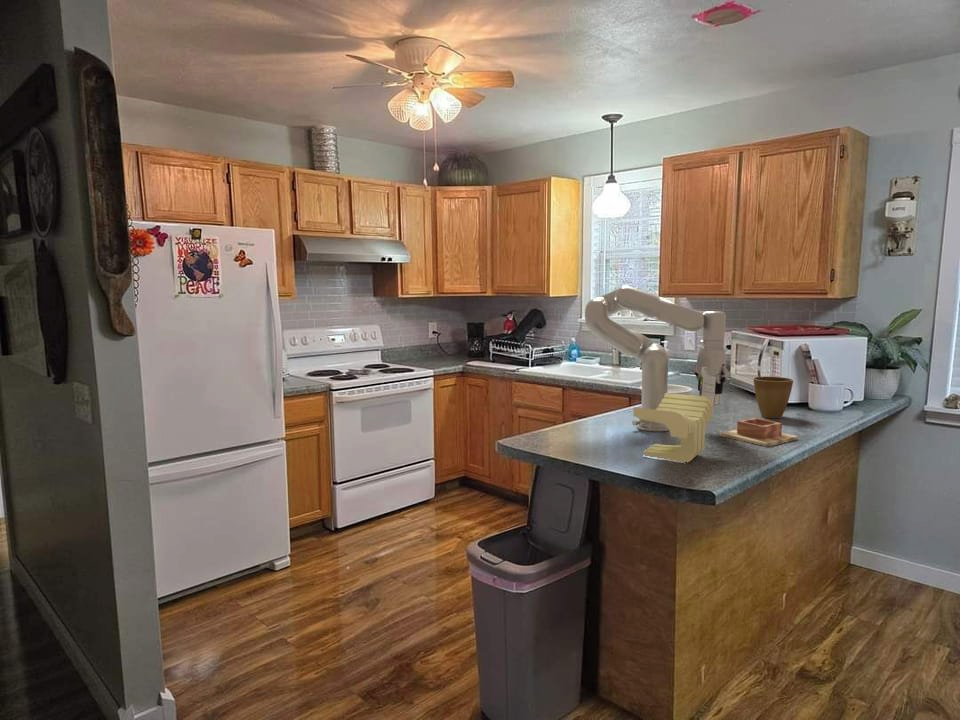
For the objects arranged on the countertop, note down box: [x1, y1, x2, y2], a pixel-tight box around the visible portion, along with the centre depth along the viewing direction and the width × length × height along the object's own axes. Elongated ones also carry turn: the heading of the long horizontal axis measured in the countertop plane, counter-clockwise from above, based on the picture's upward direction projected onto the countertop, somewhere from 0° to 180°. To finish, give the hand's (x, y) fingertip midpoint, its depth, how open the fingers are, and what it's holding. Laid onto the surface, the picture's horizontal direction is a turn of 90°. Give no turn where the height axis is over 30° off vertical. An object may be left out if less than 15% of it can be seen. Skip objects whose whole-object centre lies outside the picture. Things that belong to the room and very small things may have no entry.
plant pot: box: [752, 376, 794, 419], centre depth 251 cm, size 15×15×16 cm
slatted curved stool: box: [633, 393, 714, 464], centre depth 194 cm, size 30×16×18 cm, turn 145°
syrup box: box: [698, 366, 721, 407], centre depth 226 cm, size 6×6×14 cm
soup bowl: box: [638, 383, 693, 395], centre depth 286 cm, size 24×24×7 cm
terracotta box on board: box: [720, 417, 799, 448], centre depth 217 cm, size 18×18×6 cm
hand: (709, 391), depth 226 cm, fingers closed on syrup box, 7 cm apart
